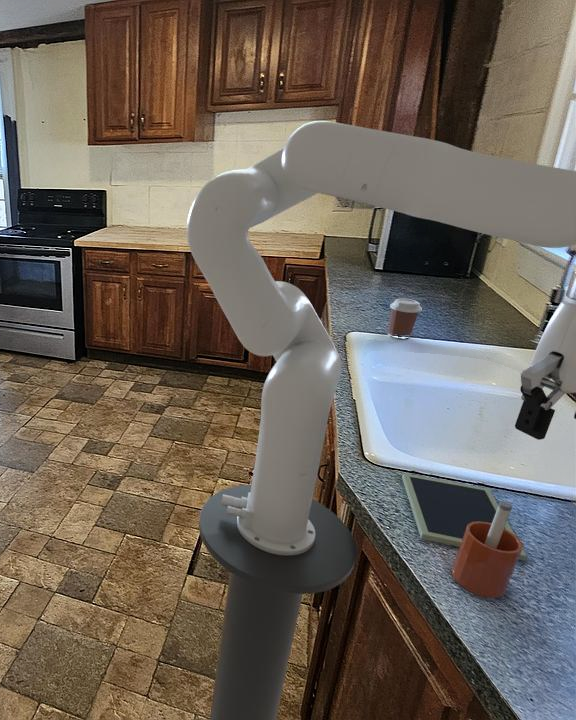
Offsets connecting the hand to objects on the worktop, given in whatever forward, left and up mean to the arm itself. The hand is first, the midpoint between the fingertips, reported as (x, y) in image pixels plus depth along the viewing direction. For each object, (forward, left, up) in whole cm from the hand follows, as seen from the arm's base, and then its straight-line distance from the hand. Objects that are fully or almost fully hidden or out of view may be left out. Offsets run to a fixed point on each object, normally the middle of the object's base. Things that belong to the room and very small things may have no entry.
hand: (558, 428), depth 64 cm
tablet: (-1, +18, -26) cm, 32 cm away
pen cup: (-2, +2, -26) cm, 27 cm away
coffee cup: (+5, +117, -27) cm, 120 cm away
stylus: (-2, +2, -26) cm, 26 cm away
